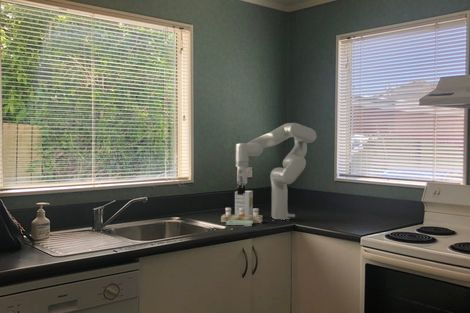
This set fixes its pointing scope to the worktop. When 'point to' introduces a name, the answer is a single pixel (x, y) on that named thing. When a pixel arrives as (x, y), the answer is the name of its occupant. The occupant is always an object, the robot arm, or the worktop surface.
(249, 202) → the supplement box
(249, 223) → the tray
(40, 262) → the worktop surface
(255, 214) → the fuse
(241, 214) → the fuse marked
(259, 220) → the fuse block
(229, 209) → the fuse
